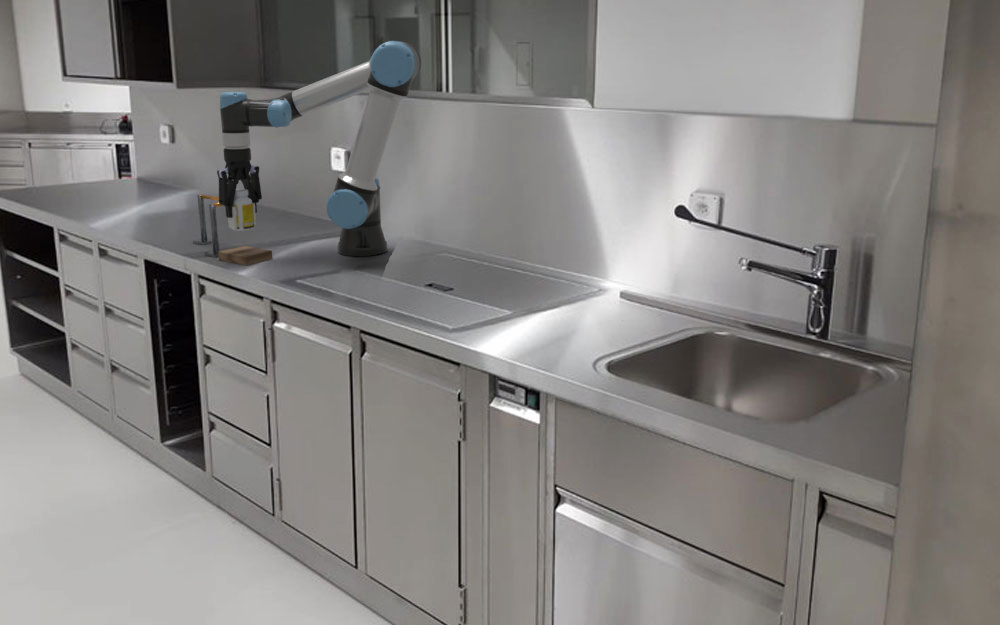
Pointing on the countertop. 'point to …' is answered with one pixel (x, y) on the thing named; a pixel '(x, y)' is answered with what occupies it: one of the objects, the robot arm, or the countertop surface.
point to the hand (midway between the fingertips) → (242, 226)
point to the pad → (245, 255)
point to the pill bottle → (243, 210)
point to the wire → (213, 221)
